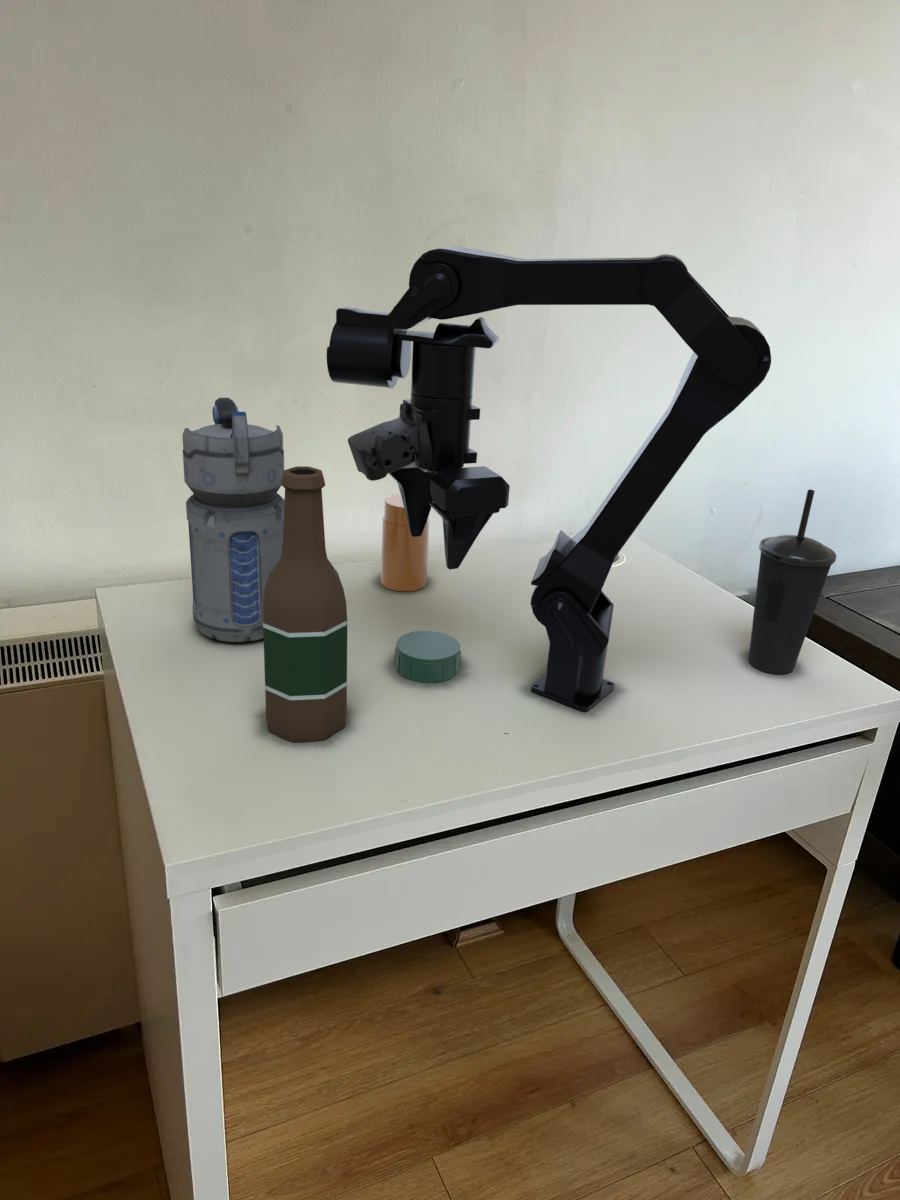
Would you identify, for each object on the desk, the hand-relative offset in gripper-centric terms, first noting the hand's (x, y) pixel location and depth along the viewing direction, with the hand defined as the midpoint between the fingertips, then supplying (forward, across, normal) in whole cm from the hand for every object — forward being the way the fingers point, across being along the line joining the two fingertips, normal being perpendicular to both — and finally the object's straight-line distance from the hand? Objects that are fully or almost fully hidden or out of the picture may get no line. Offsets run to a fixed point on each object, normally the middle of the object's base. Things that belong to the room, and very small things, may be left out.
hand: (433, 551), depth 89 cm
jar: (+13, -22, +6) cm, 26 cm away
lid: (+11, 0, 0) cm, 11 cm away
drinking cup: (+13, +11, +37) cm, 40 cm away
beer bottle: (+13, +6, -15) cm, 21 cm away
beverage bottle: (+13, -16, -16) cm, 26 cm away
